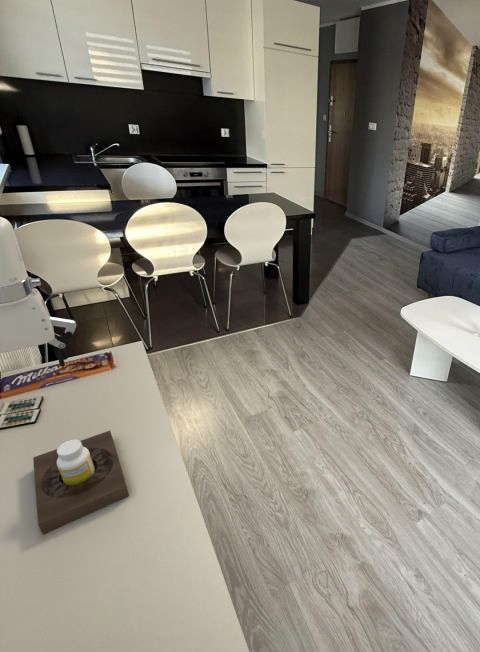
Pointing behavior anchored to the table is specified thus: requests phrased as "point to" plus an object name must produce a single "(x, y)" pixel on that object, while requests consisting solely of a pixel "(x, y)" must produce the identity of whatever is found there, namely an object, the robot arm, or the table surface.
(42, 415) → the table surface
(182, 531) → the table surface
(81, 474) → the supplement bottle
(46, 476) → the socket pad
